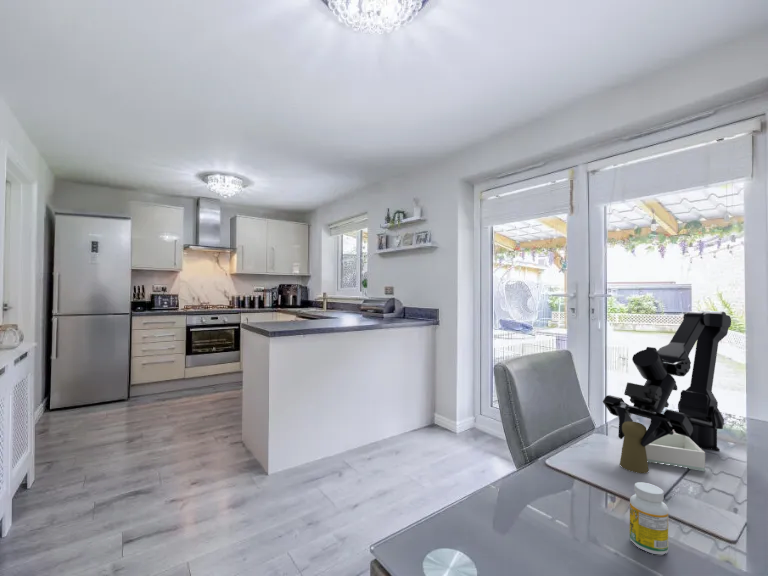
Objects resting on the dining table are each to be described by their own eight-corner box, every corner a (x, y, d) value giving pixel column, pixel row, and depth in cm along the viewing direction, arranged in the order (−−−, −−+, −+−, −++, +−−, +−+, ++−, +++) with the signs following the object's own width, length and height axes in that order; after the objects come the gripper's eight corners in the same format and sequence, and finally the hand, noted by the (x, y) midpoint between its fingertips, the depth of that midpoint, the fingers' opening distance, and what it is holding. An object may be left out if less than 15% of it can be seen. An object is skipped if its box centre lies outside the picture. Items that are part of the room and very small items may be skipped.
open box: (686, 451, 103) (686, 434, 103) (705, 471, 91) (705, 452, 91) (630, 442, 109) (630, 427, 109) (640, 460, 97) (640, 443, 97)
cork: (639, 462, 95) (640, 419, 96) (654, 474, 89) (654, 427, 90) (614, 461, 96) (615, 418, 96) (627, 472, 90) (628, 426, 90)
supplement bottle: (667, 561, 59) (667, 500, 59) (627, 546, 63) (627, 488, 63) (669, 544, 63) (669, 487, 64) (631, 531, 67) (632, 477, 67)
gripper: (607, 365, 103) (580, 410, 98) (686, 379, 87) (660, 434, 81) (623, 391, 107) (599, 436, 101) (703, 409, 90) (679, 464, 85)
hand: (630, 441), depth 92 cm, fingers closed on cork, 5 cm apart
